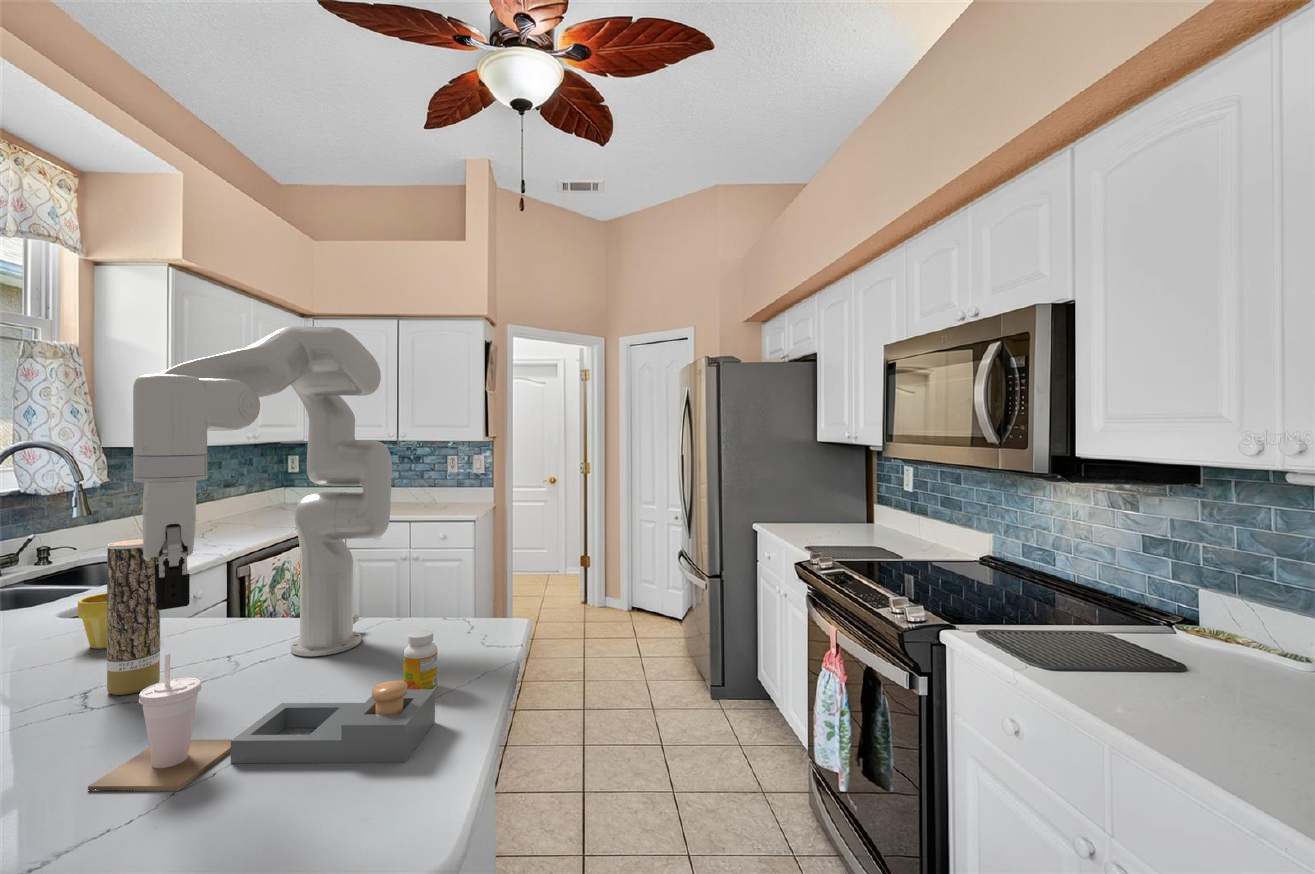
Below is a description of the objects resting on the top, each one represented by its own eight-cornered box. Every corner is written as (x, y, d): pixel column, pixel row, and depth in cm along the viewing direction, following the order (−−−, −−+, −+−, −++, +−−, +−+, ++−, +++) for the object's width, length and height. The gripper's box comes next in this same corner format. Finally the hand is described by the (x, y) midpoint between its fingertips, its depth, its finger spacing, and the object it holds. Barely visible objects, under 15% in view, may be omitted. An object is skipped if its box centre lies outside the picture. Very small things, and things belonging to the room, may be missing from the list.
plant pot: (137, 631, 130) (137, 587, 130) (152, 641, 124) (152, 594, 124) (72, 644, 121) (72, 597, 121) (84, 656, 115) (84, 606, 115)
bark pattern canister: (170, 679, 104) (170, 538, 104) (137, 696, 98) (138, 545, 98) (130, 679, 104) (131, 538, 104) (95, 697, 97) (95, 545, 97)
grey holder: (281, 722, 89) (281, 689, 89) (434, 722, 90) (435, 689, 90) (230, 763, 78) (230, 725, 78) (405, 762, 79) (405, 724, 79)
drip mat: (161, 743, 83) (161, 739, 83) (241, 743, 83) (241, 739, 83) (87, 791, 72) (87, 786, 72) (179, 790, 72) (179, 785, 72)
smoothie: (171, 745, 81) (171, 644, 81) (213, 748, 81) (214, 646, 81) (124, 772, 75) (125, 662, 75) (169, 775, 74) (170, 664, 74)
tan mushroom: (380, 728, 86) (380, 680, 86) (412, 728, 87) (412, 680, 86) (365, 744, 82) (365, 694, 82) (398, 744, 82) (399, 694, 82)
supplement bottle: (397, 690, 101) (398, 633, 101) (428, 680, 105) (428, 626, 105) (411, 699, 97) (412, 640, 97) (442, 689, 101) (443, 633, 101)
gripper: (133, 466, 81) (133, 590, 82) (132, 474, 69) (132, 621, 69) (202, 465, 86) (202, 581, 87) (213, 471, 73) (213, 608, 74)
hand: (171, 598), depth 78 cm, fingers open, 9 cm apart
